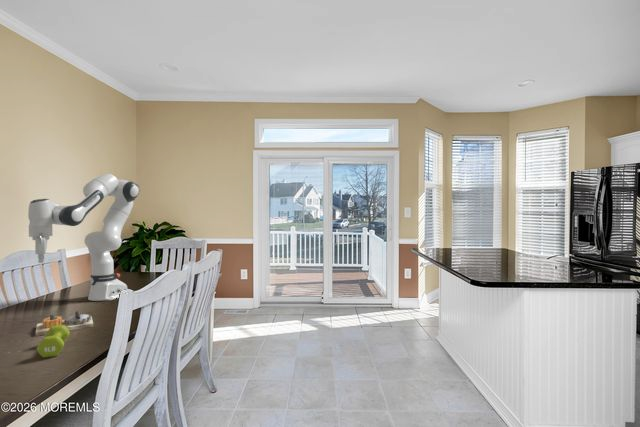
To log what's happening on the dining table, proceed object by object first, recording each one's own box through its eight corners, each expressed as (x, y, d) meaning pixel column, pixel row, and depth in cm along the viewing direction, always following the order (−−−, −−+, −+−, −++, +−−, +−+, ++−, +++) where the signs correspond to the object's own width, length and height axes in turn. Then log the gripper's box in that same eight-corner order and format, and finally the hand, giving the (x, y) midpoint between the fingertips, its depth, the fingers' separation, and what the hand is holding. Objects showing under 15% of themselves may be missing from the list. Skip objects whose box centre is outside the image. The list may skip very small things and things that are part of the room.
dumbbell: (63, 356, 123) (63, 336, 123) (35, 360, 119) (35, 340, 119) (70, 340, 137) (70, 322, 137) (46, 343, 134) (46, 325, 133)
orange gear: (43, 324, 150) (43, 318, 150) (62, 321, 154) (62, 315, 154) (42, 329, 144) (42, 322, 144) (62, 326, 149) (62, 319, 149)
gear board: (91, 318, 163) (91, 306, 163) (93, 326, 153) (93, 313, 153) (37, 327, 151) (37, 313, 151) (35, 336, 141) (35, 321, 141)
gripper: (48, 234, 157) (49, 263, 157) (49, 230, 173) (50, 257, 173) (31, 234, 153) (31, 265, 153) (33, 231, 169) (33, 258, 169)
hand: (41, 261), depth 163 cm, fingers open, 8 cm apart
